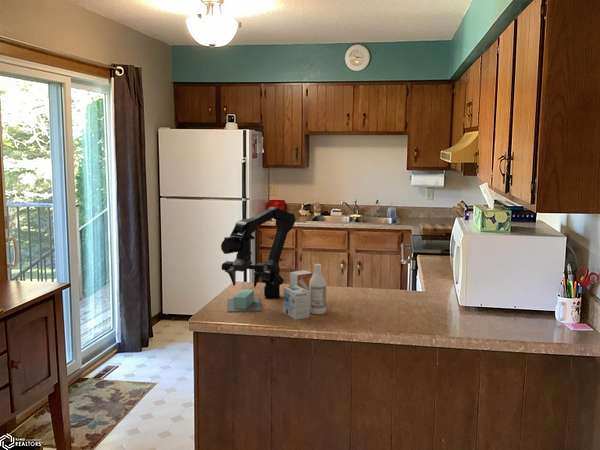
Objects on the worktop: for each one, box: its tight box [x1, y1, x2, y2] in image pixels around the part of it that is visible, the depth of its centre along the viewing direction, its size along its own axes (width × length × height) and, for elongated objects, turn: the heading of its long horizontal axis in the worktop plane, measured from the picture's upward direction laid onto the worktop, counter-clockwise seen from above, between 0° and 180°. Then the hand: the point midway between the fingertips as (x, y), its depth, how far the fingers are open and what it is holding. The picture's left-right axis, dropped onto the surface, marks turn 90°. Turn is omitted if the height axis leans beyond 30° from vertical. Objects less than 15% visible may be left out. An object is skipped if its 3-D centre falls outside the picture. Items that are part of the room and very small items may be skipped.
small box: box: [289, 269, 314, 291], centre depth 238 cm, size 8×6×13 cm
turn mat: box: [226, 297, 262, 313], centre depth 232 cm, size 14×18×1 cm
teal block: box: [233, 288, 255, 309], centre depth 231 cm, size 5×5×12 cm
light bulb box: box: [283, 286, 310, 321], centre depth 219 cm, size 11×7×11 cm, turn 29°
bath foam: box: [309, 263, 327, 315], centre depth 222 cm, size 7×7×20 cm
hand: (244, 286), depth 232 cm, fingers open, 9 cm apart
